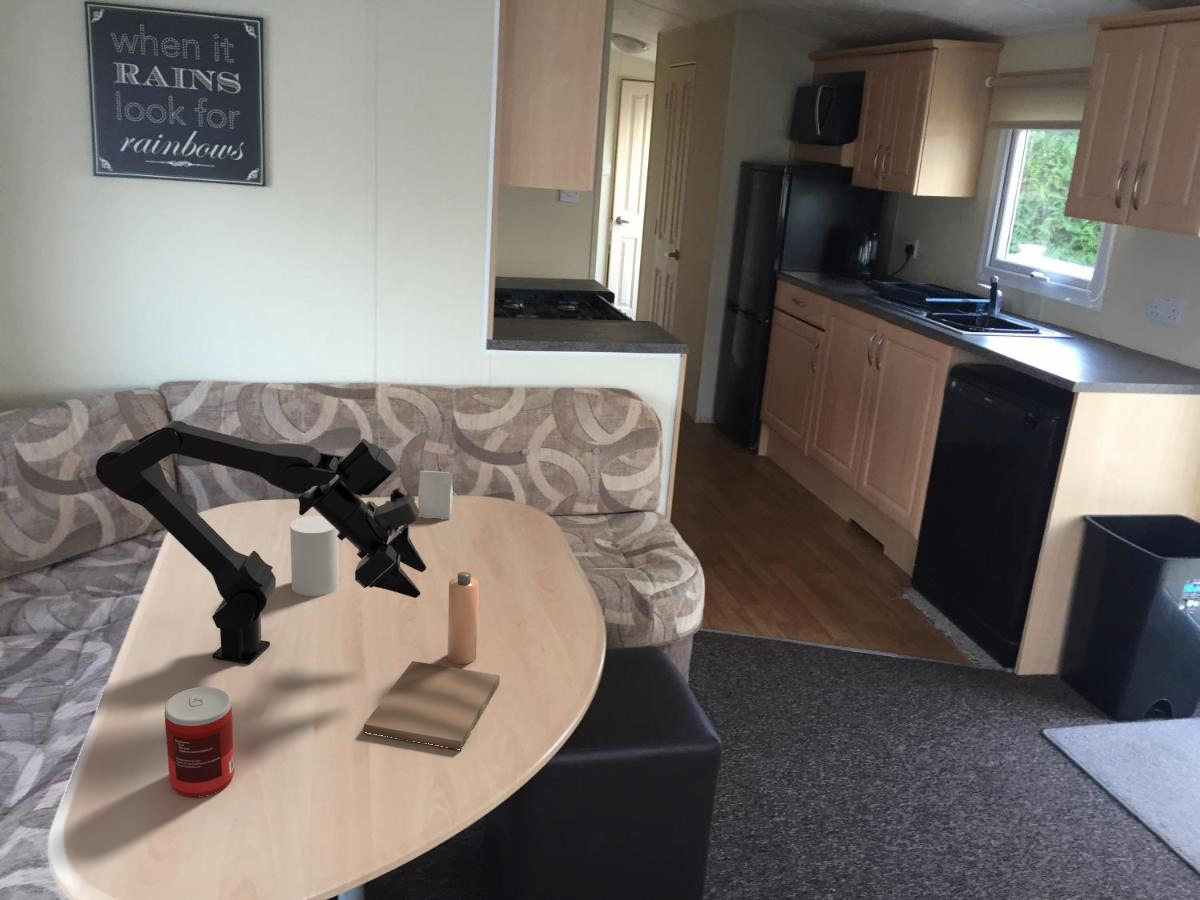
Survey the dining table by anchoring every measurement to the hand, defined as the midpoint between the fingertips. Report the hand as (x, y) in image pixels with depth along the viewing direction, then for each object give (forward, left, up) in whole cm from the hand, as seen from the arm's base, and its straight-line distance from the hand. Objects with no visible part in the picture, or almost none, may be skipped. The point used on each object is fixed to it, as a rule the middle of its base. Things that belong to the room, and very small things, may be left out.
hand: (421, 582), depth 154 cm
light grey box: (+58, +19, -13) cm, 62 cm away
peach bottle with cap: (+2, -6, -13) cm, 14 cm away
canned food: (-37, +15, -13) cm, 42 cm away
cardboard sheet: (-13, -7, -13) cm, 20 cm away
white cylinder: (+18, +27, -13) cm, 35 cm away
